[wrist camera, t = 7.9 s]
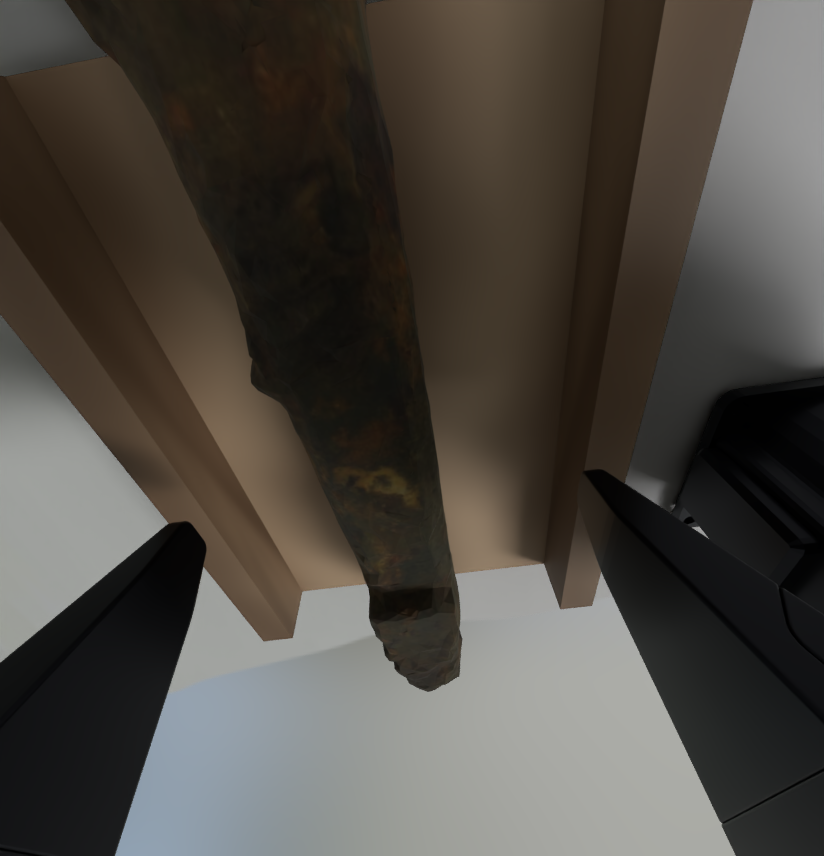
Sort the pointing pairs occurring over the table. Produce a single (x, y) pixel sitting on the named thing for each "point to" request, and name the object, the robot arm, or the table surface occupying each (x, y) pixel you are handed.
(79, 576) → the table surface
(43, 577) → the table surface
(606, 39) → the tool cradle
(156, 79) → the hand tool
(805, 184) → the table surface
